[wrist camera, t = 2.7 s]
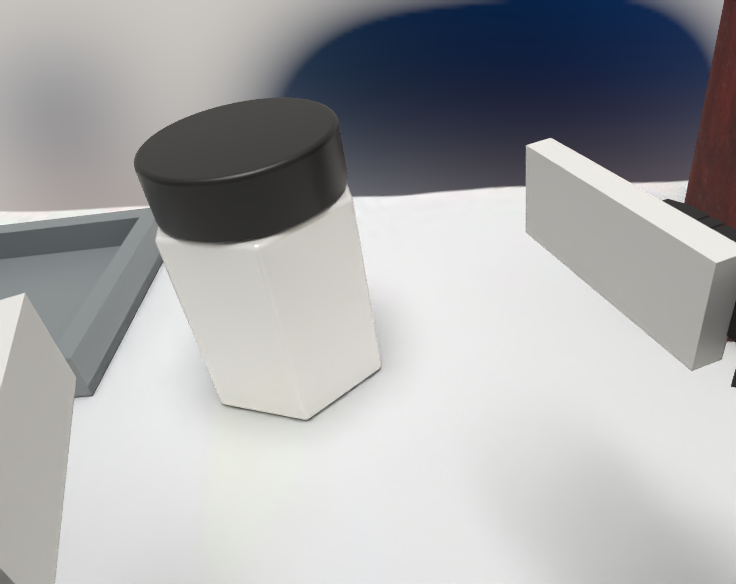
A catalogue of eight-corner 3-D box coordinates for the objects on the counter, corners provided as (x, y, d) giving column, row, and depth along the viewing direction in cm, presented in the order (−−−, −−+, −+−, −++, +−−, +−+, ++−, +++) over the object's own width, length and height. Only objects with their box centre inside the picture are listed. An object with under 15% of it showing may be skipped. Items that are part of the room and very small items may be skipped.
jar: (320, 285, 35) (274, 82, 28) (417, 347, 30) (389, 114, 23) (184, 366, 31) (90, 151, 24) (268, 453, 26) (177, 210, 19)
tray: (-175, 418, 32) (-210, 384, 30) (-23, 260, 44) (-42, 230, 42) (92, 395, 30) (70, 357, 29) (174, 238, 42) (162, 206, 41)
